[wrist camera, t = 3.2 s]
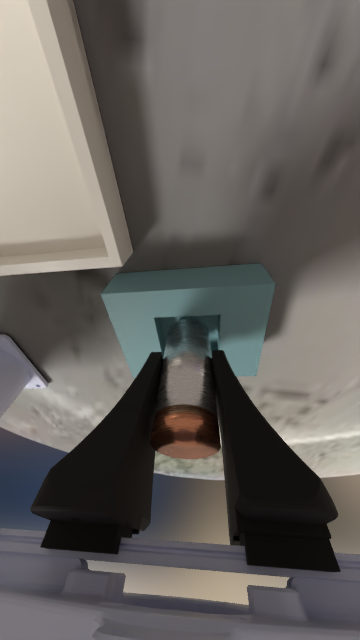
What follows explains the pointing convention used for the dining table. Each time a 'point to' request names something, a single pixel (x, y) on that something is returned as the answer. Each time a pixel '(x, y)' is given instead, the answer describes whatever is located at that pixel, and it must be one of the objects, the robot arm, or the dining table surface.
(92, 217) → the tray
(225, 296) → the teal socket block
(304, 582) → the robot arm
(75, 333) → the dining table surface
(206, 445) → the copper-capped cylinder
